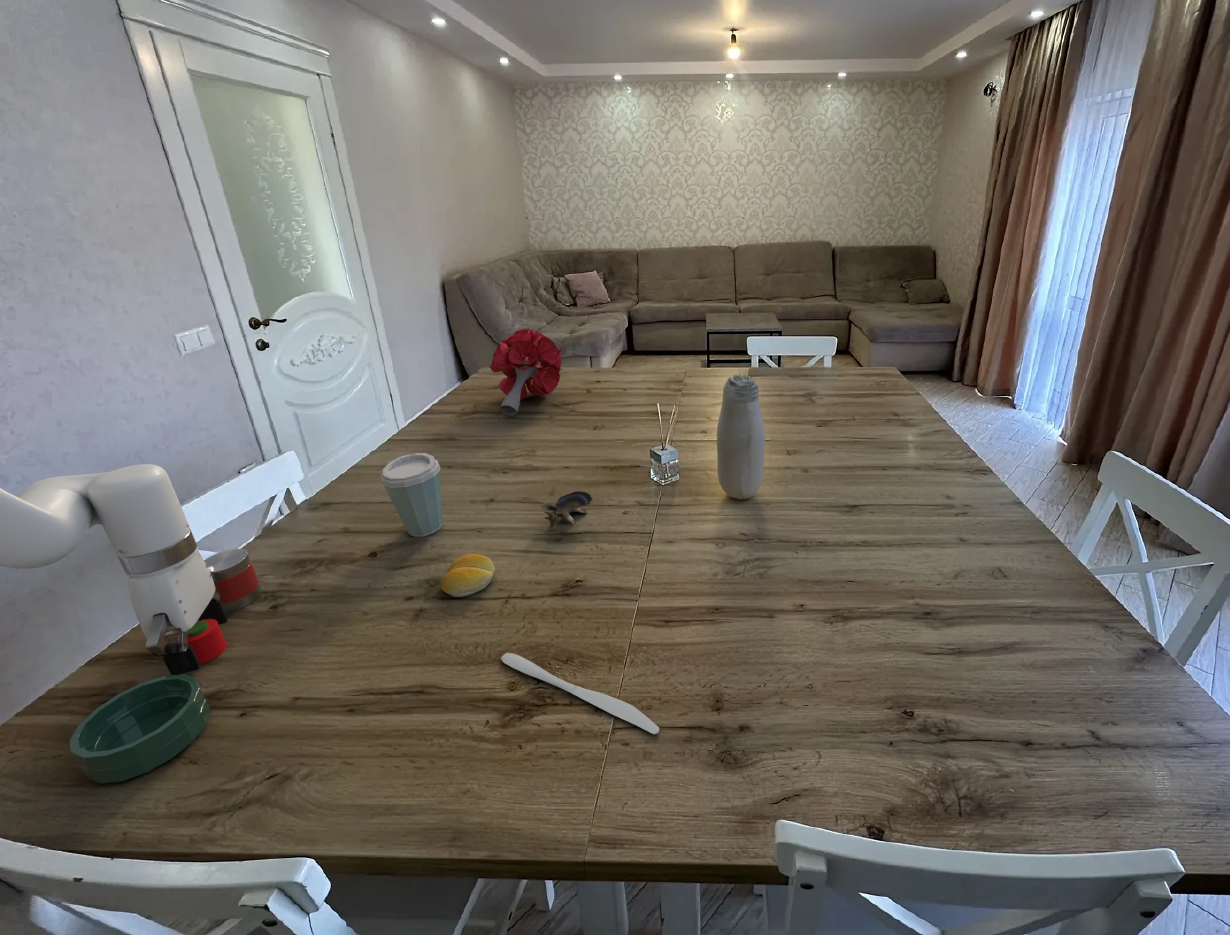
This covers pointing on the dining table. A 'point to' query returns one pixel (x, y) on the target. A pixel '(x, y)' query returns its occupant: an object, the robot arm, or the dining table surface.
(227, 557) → the can
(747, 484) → the white bottle
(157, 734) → the bowl
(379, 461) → the dining table surface
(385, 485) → the disposable coffee cup
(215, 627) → the red short cylinder
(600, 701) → the butter knife
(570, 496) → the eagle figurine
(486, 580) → the bread roll
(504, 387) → the bouquet
